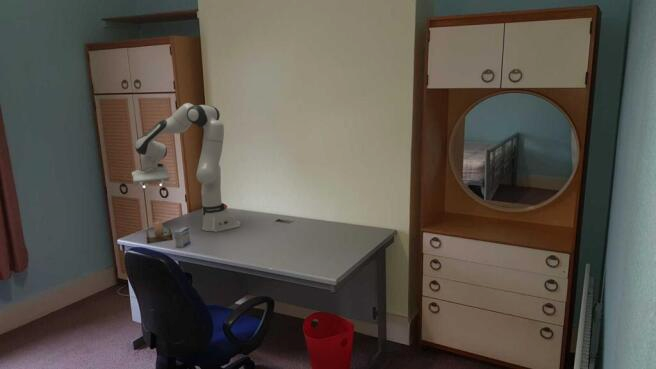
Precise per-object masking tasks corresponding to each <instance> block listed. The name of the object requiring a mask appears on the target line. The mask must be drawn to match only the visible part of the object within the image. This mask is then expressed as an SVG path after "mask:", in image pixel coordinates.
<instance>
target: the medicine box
mask: <svg viewBox="0 0 656 369" xmlns="http://www.w3.org/2000/svg"><path fill="white" fill-rule="evenodd" d="M173 234H174V242H175V248H185V247H186V246H187V245H188V244H190V243H191V236H190V228H189V226H188V227H186V226H184V227H180V228H178V229H177V230H175V231H174V232H173Z"/></svg>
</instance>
